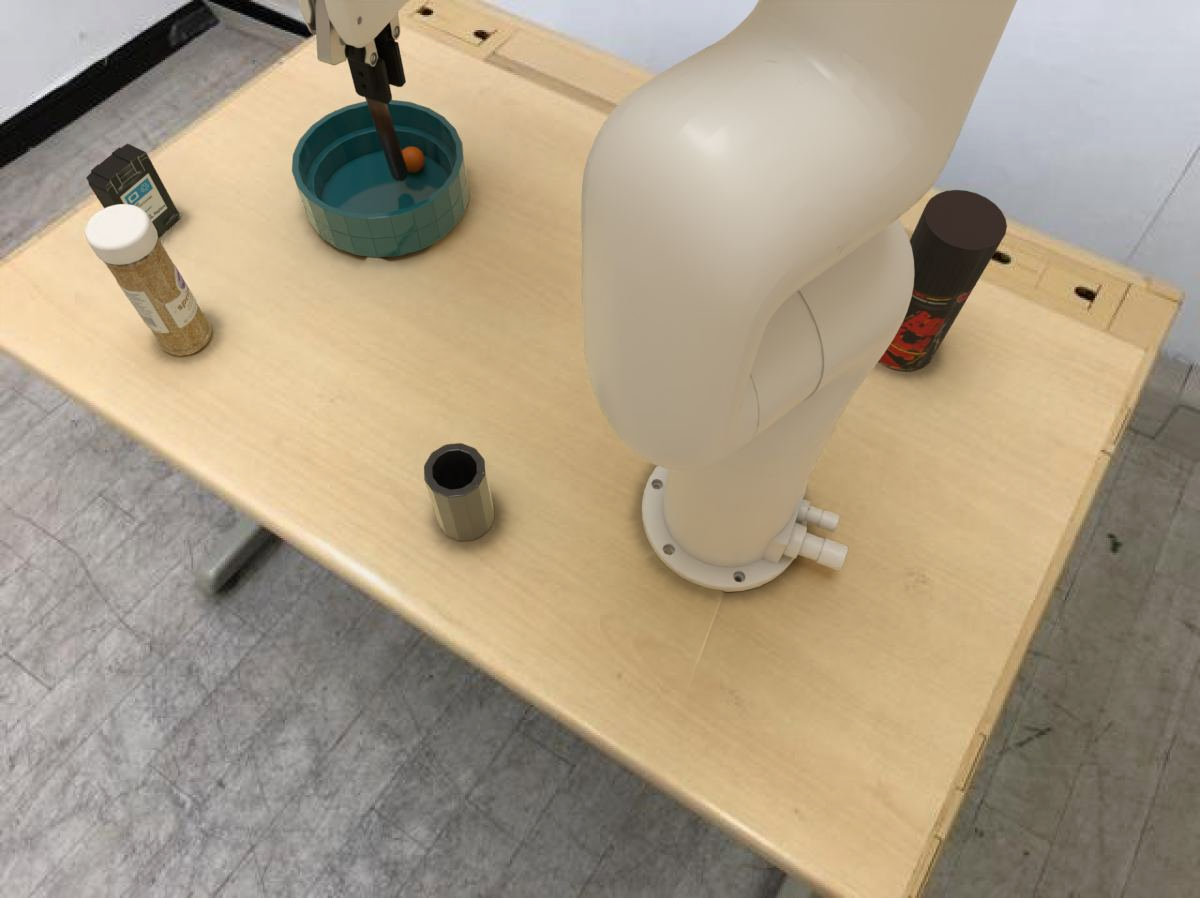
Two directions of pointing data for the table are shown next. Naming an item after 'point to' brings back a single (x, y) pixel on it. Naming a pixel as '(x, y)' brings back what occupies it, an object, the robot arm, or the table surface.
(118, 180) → the ink cartridge
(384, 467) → the table surface
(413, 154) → the ball
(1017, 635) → the table surface
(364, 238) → the bowl
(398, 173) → the stick
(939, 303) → the deodorant
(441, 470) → the holder
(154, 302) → the sprinkles bottle
